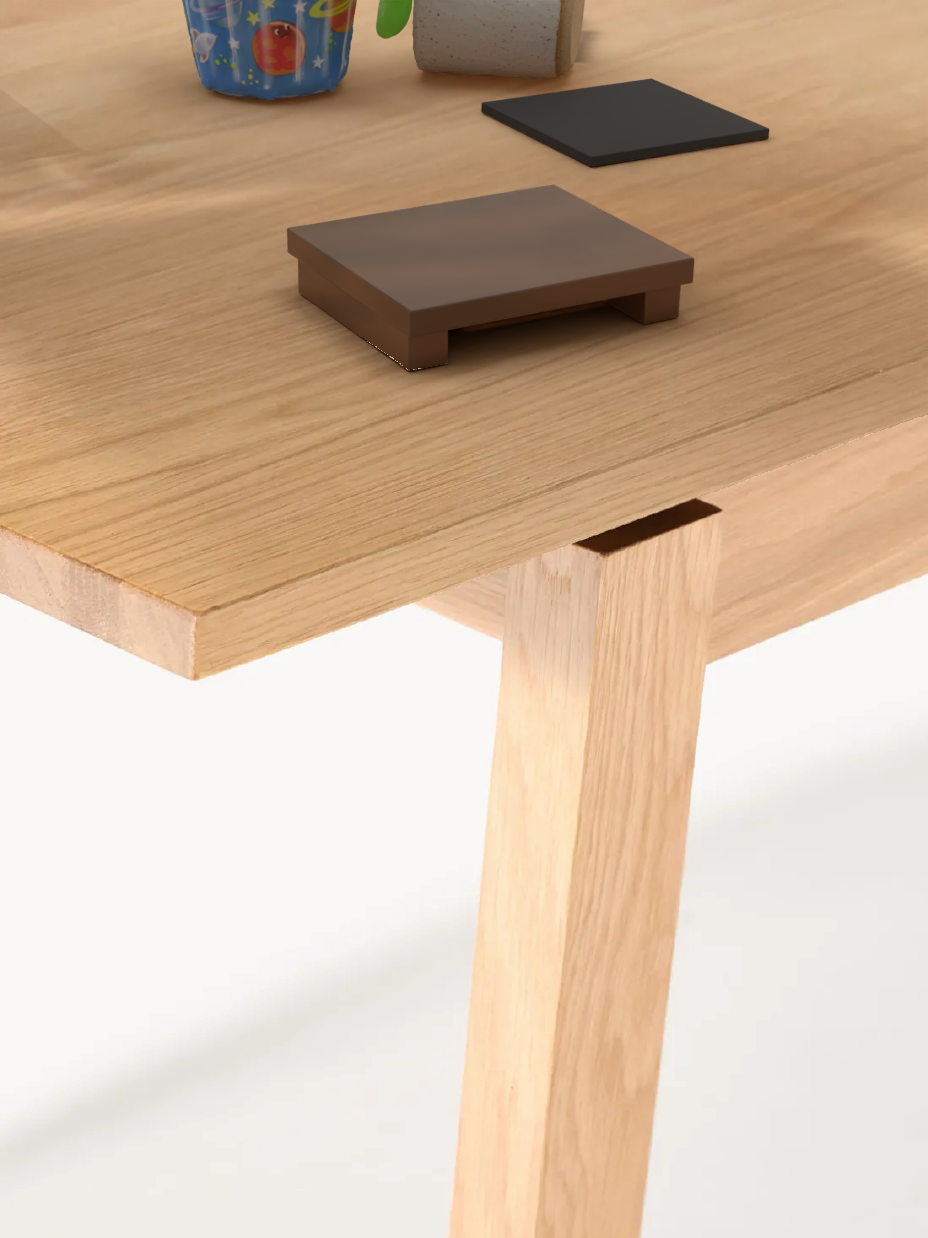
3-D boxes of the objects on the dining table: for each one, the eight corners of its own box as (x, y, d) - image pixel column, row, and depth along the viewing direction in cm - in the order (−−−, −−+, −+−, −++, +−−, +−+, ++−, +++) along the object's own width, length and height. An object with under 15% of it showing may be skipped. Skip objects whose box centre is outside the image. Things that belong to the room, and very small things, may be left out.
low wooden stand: (287, 289, 84) (286, 227, 83) (551, 242, 89) (553, 183, 88) (410, 378, 77) (410, 311, 75) (691, 321, 82) (695, 257, 81)
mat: (480, 112, 106) (481, 102, 106) (651, 87, 111) (651, 77, 110) (590, 167, 99) (591, 156, 98) (769, 138, 103) (770, 128, 103)
